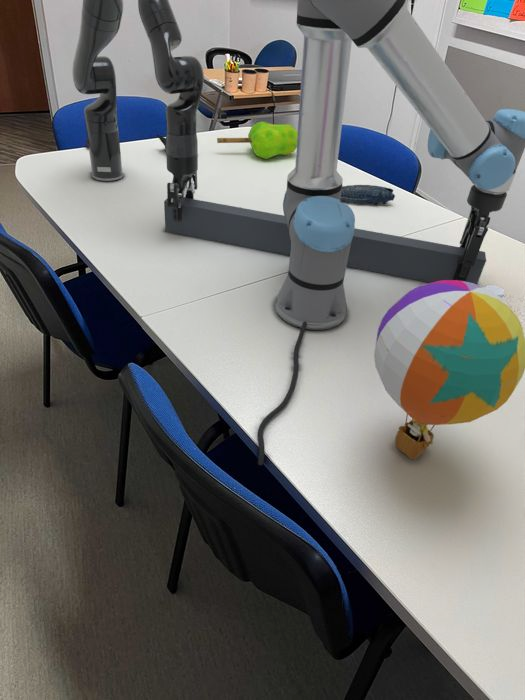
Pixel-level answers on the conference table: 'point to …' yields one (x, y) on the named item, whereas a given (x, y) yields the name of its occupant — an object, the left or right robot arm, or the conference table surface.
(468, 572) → the conference table surface
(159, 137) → the handheld gaming console
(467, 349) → the toy
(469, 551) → the conference table surface
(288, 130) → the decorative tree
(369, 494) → the conference table surface
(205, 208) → the bar
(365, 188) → the fish model
